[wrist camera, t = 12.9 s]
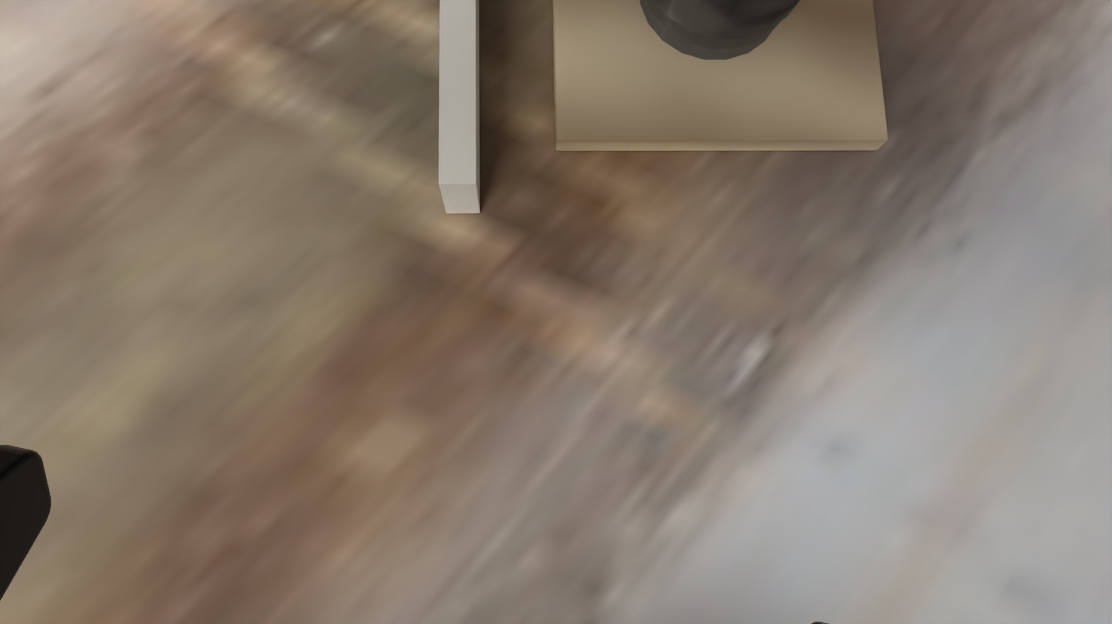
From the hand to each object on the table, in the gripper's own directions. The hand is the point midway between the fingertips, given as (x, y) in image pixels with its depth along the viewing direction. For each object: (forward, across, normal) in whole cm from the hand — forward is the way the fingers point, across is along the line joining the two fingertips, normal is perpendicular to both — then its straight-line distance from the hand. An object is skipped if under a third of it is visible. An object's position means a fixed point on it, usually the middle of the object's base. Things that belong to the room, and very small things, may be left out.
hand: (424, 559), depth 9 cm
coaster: (+22, -4, -2) cm, 22 cm away
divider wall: (+20, +4, -1) cm, 21 cm away
